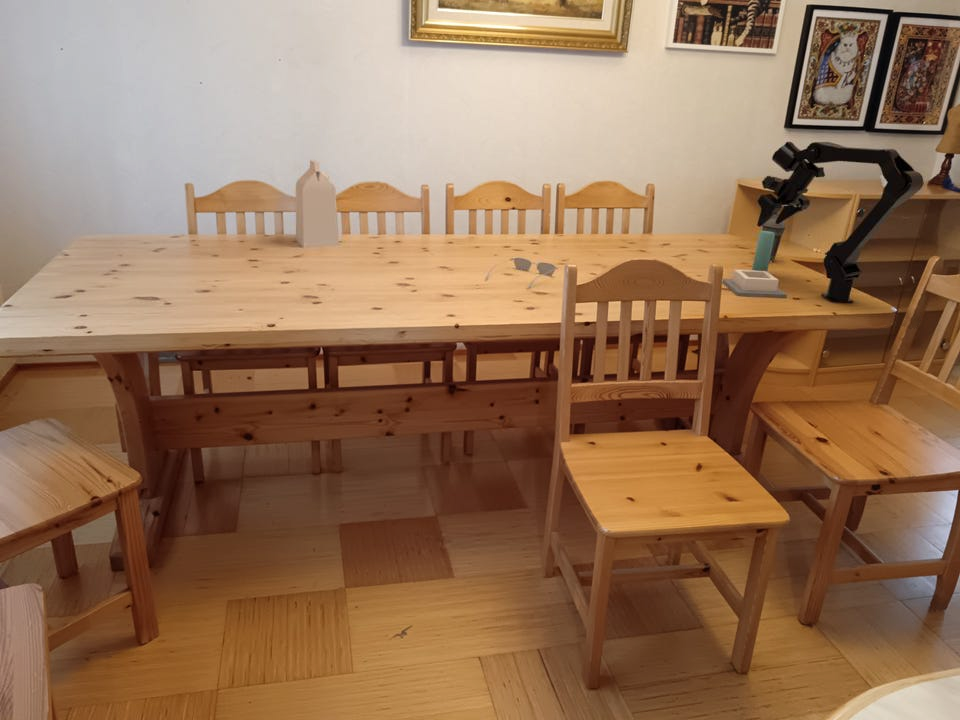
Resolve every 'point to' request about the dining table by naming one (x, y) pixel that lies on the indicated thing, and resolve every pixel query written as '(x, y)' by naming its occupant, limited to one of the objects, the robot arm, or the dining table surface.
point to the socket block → (754, 284)
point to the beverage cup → (778, 231)
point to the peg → (763, 251)
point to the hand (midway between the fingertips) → (767, 224)
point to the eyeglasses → (526, 264)
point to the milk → (316, 209)
